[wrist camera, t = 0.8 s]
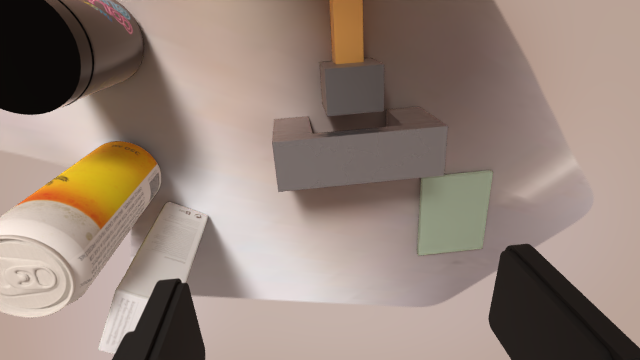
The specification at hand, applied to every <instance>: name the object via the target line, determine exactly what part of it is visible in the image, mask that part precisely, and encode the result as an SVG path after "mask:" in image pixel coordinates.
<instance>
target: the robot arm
mask: <svg viewBox="0 0 640 360" xmlns="http://www.w3.org/2000/svg"><path fill="white" fill-rule="evenodd" d="M489 324H490V327H491V329H492V331H493V332H494V334H495V335H496V337H497V338H498V340H499V341H500V343H501V344H502V346H503V347H504V349H505V350H506V352H507V354H508V355H509V357H510V358H511V360H640V348H639V347H638V346H637V345H636V344H635V343H634V342H632V341H631V340H630V339H629V338H628V337H627V336H626V335H625V334H624V333H623V332H622V331H621V330H620V329H619V328H618V327H617V326H616V325H615V324H614V323H612V322H611V321H610V320H609V319H608V318H607V317H606V316H605V315H604V314H603V313H602V312H601V311H600V310H599V309H598V308H597V307H596V306H595V305H594V304H592V303H591V302H590V301H589V300H588V299H587V298H586V297H585V296H584V295H583V294H582V293H581V292H580V291H579V290H578V289H577V288H576V287H574V286H573V285H572V284H571V283H570V282H569V281H568V280H567V279H566V278H565V277H564V276H563V275H562V274H561V273H560V272H559V271H557V269H556V268H555V267H553V266H552V265H551V264H550V263H549V262H548V261H547V260H546V259H545V258H544V257H543V256H542V255H541V254H540V253H539V252H538V251H537V250H536V249H535V248H533V247H532V246H531V245H530V244H521V245H511V246H508V247H507V248H506V250H505V251H503V252H502V253H501V255H500V261H499V266H498V271H497V276H496V281H495V287H494V292H493V297H492V302H491V307H490V313H489ZM112 360H205V347H204V343H203V339H202V336H201V332H200V328H199V324H198V320H197V316H196V312H195V309H194V305H193V301H192V297H191V293H190V289H189V286H188V284H187V283H182V281H181V280H180V279H179V278H176V279H166V280H159V281H157V283H156V285H155V287H154V289H153V291H152V293H151V296H150V298H149V300H148V302H147V304H146V306H145V308H144V311H143V313H142V315H141V317H140V319H139V321H138V323H137V326H136V328H135V330H134V331H131V332H128V333H126V334H125V336H124V337H123V339H122V341H121V343H120V345H119V347H118V349H117V351H116V353H115V355H114V357H113V359H112Z"/></svg>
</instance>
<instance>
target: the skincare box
mask: <svg viewBox="0 0 640 360" xmlns="http://www.w3.org/2000/svg"><path fill="white" fill-rule="evenodd" d="M207 220H208V215H205V214H203V213H200V212H198V211H195V210H192V209H189V208H186V207H184V206H181V205H178V204H175V203H172V202H167V203H165V205H164V206H163V208H162V210H161V212H160V214H159V215H158V217H157V219H156V221H155V222H154V224H153V226H152V228H151V230H150V231H149V233H148V235H147V236H146V238H145V240H144V242H143V243H142V245H141V247H140V249H139V250H138V252H137V254H136V256H135V257H134V259H133V261H132V263H131V265H130V267H129V269H128V270H127V272H126V274H125V276H124V277H123V279H122V281H121V282H120V284H119V286H118V287H117V289H116V290H115V294H114V297H113V301H112V304H111V307H110V311H109V314H108V317H107V321H106V324H105V327H104V331H103V334H102V338H101V341H100V345H99V348H98V350H100V351H104V352H108V353H112V354H115V353H116V351H117V349H118V347H119V345H120V343H121V341H122V339H123V337H124V336H125V334H126V333H128V332H131V331H134V330H135V328H136V326H137V323H138V321H139V319H140V317H141V315H142V313H143V311H144V308H145V306H146V304H147V302H148V300H149V298H150V296H151V293H152V291H153V289H154V287H155V285H156V283H157V281H159V280H166V279H176V278H179V279H180V280H181V281H182V283H186V282H187V279H188V276H189V273H190V270H191V267H192V264H193V261H194V258H195V255H196V252H197V249H198V246H199V243H200V240H201V237H202V234H203V232H204V229H205V226H206V223H207Z"/></svg>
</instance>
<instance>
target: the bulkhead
mask: <svg viewBox="0 0 640 360" xmlns="http://www.w3.org/2000/svg"><path fill="white" fill-rule="evenodd" d="M447 133H448V126H447V125H446V124H444V123H443V122H441V121H440V120H438V119H437V118H435V117H434V116H432V115H431V114H430V113H428V112H427V111H425V110H424V109H422V108H421V107H408V108H397V109H386V127H379V128H368V129H357V130H346V131H335V132H324V133H313V134H312V130H311V126H310V121H309V117H308V116H307V117H295V118H284V119H274V128H273V138H272V145H273V153H274V161H275V169H276V177H277V185H278V192H283V191H293V190H303V189H313V188H323V187H333V186H343V185H353V184H363V183H373V182H383V181H393V180H403V179H413V178H423V177H433V176H444V171H445V158H446V146H447Z"/></svg>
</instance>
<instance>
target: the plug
mask: <svg viewBox="0 0 640 360" xmlns="http://www.w3.org/2000/svg"><path fill="white" fill-rule="evenodd" d="M329 3H330V22H331V42H332V61H327V62H319V63H320V79H321V94H322V105H323V107H324V109H325V112H326V114H327V116H337V115H348V114H359V113H370V112H381V111H384V64H383V63H381V62H379V61H377V60H375V59H373V58H364V57H363V0H329Z"/></svg>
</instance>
